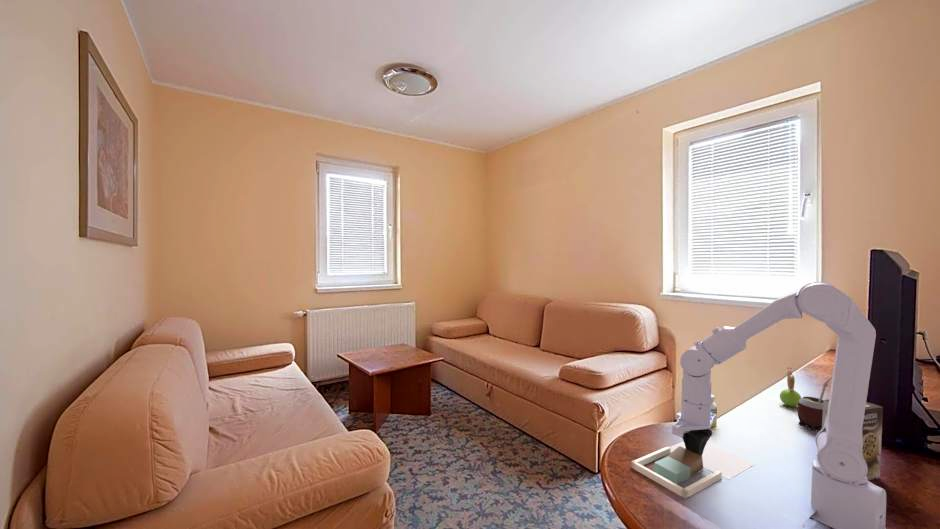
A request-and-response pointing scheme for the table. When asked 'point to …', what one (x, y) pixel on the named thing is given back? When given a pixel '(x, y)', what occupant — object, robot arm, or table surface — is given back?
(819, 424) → the mate gourd
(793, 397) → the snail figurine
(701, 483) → the box
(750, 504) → the table surface
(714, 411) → the supplement bottle
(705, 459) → the beige board
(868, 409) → the coffee box
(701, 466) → the brown square block
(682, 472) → the mint green block
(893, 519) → the table surface
